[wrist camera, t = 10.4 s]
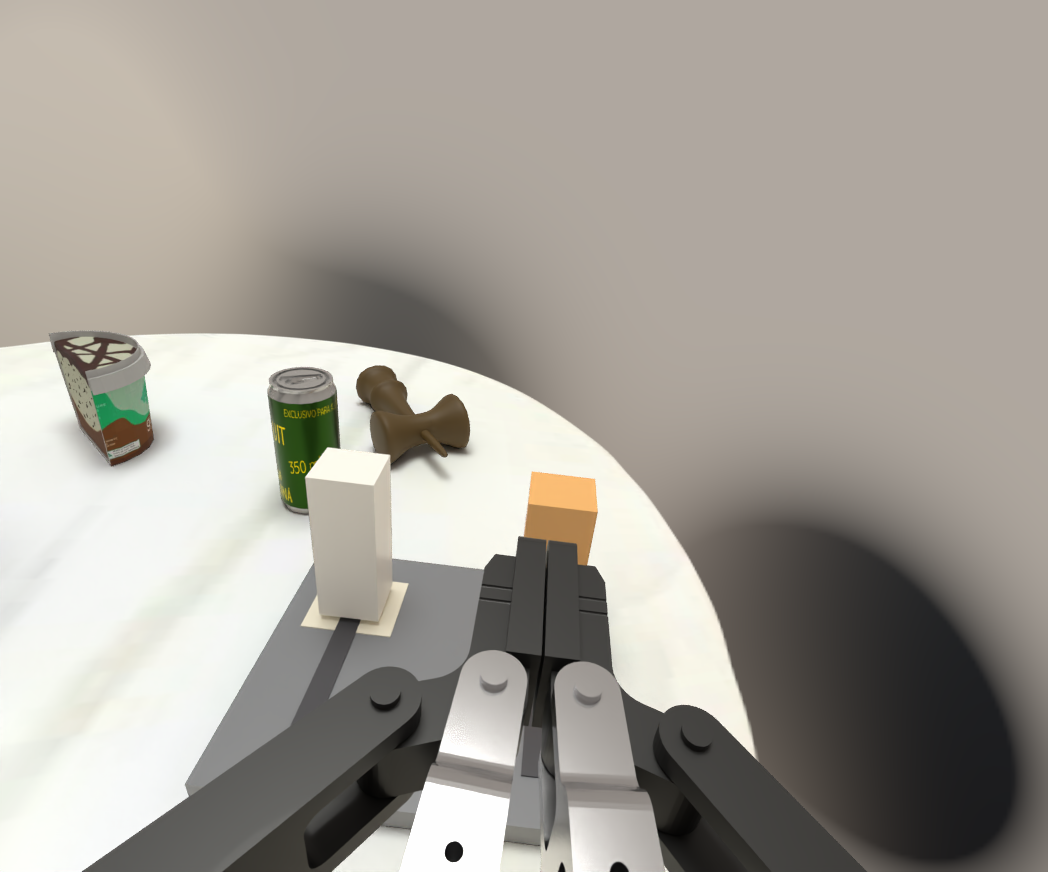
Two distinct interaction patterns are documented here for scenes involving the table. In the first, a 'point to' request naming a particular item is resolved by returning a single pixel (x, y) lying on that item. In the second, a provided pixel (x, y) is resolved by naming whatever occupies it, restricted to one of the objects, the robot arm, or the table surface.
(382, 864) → the table surface
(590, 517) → the orange tall rectangular block
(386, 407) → the kendama
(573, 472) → the table surface
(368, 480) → the tall cream upright block
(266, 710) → the switch board
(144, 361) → the food container
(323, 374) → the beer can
